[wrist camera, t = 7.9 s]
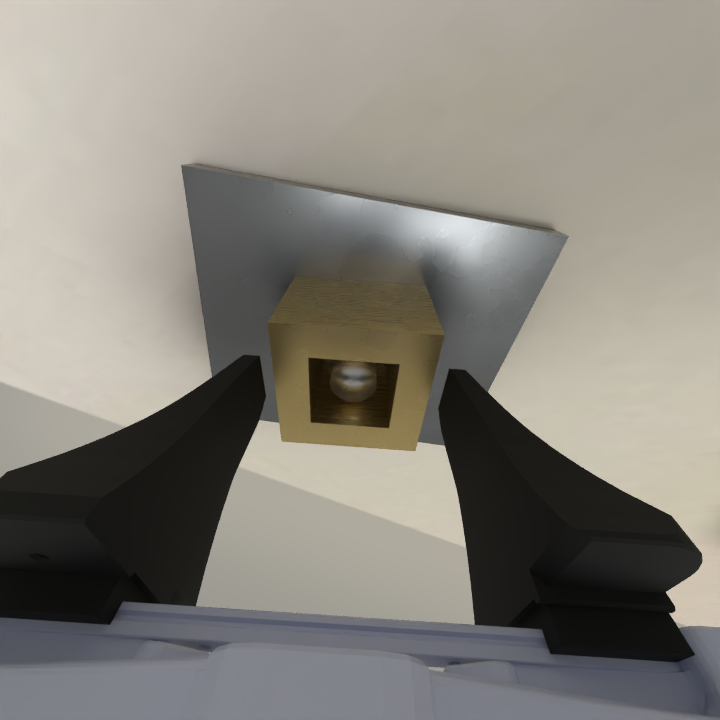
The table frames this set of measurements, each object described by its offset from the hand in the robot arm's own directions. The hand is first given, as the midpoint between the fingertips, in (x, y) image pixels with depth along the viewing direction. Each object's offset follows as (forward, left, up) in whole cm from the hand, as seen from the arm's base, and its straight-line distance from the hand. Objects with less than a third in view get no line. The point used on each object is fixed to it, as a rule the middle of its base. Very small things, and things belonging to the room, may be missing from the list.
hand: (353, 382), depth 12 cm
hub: (0, 0, -3) cm, 3 cm away
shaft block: (0, 0, -4) cm, 4 cm away
